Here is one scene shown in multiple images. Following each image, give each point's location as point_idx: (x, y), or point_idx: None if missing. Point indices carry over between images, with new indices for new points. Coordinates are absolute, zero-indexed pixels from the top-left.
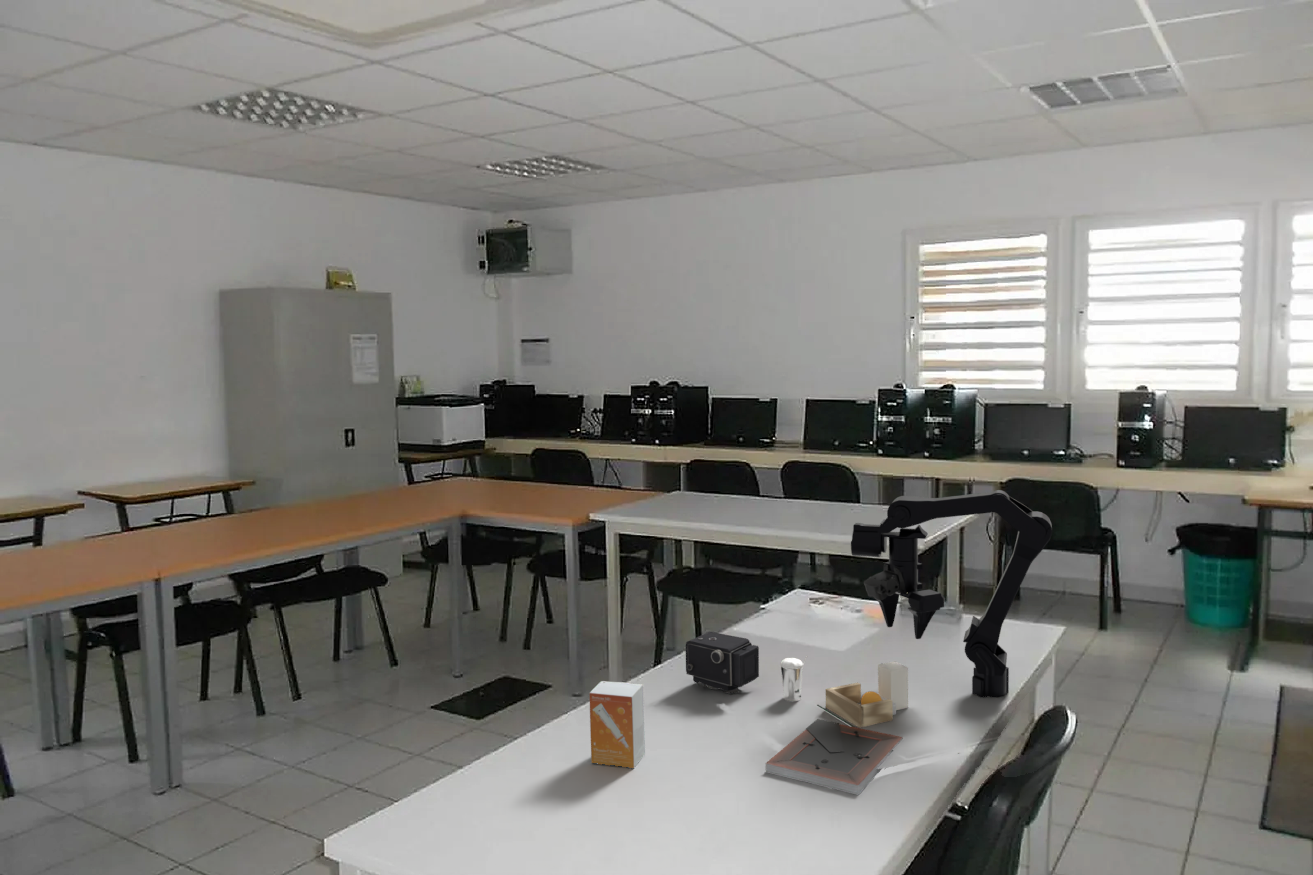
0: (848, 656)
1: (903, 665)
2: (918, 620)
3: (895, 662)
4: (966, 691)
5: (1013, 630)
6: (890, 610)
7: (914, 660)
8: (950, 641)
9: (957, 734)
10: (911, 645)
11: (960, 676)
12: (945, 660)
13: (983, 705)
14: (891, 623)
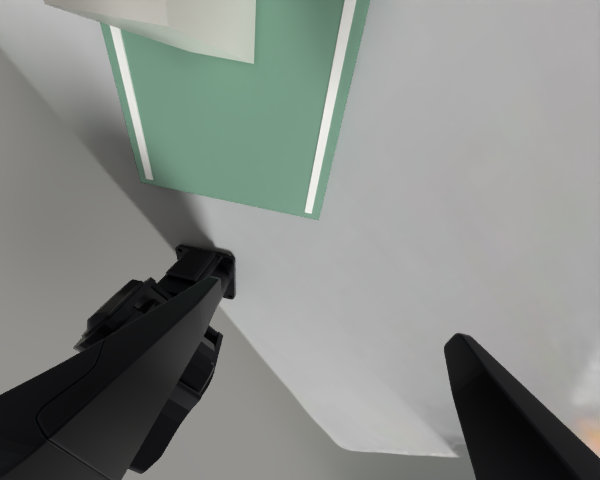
0: (592, 273)
1: (83, 9)
2: (35, 383)
3: (145, 7)
4: (253, 270)
5: (372, 438)
6: (516, 477)
7: (421, 327)
8: (417, 399)
9: (52, 60)
10: None
11: (310, 313)
12: (375, 349)
13: (187, 239)
14: (454, 363)
